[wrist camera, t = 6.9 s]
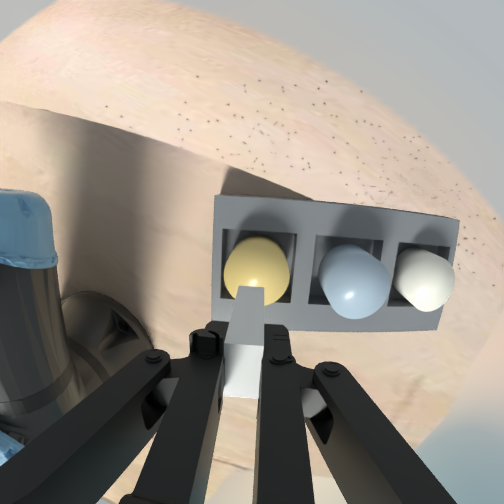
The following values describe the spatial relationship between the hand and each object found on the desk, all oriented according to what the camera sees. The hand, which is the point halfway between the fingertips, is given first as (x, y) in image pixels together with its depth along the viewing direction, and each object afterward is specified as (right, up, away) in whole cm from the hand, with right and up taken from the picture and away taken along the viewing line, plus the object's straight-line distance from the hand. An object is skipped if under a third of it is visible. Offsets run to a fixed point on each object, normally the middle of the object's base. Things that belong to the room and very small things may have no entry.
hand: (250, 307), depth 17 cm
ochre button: (+1, +2, +10) cm, 11 cm away
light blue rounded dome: (+9, +1, +8) cm, 12 cm away
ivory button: (+17, +1, +10) cm, 19 cm away
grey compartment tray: (+9, +2, +11) cm, 14 cm away
